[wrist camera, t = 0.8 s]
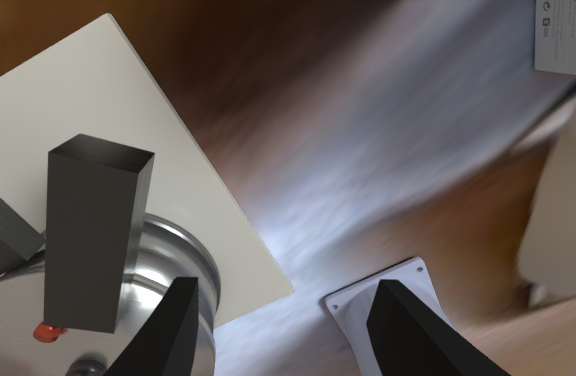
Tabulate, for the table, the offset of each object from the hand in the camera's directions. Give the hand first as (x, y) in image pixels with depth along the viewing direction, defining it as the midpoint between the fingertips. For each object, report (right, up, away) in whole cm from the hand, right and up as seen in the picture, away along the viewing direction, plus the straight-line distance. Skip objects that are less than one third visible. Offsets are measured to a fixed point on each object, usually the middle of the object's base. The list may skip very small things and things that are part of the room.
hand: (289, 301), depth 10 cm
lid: (-10, -4, +6) cm, 12 cm away
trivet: (-12, 0, +10) cm, 15 cm away
